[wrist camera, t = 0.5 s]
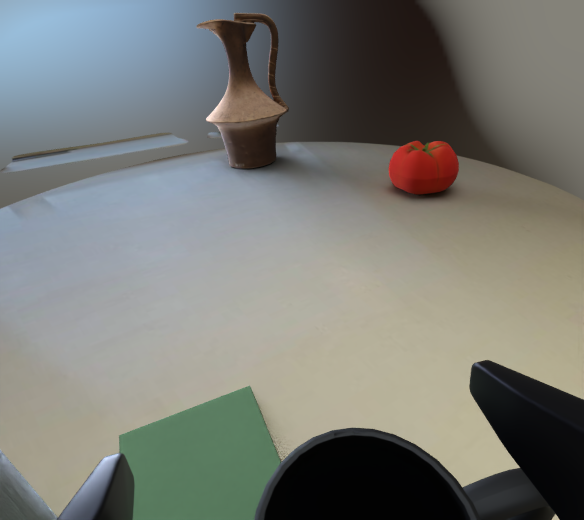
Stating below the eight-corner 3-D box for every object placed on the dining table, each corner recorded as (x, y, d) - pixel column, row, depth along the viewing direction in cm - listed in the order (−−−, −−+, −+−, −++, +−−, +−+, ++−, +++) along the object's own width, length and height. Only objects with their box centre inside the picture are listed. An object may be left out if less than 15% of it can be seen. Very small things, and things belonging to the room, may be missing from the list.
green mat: (300, 512, 22) (300, 508, 22) (124, 601, 19) (122, 598, 19) (250, 388, 30) (249, 385, 30) (120, 438, 27) (119, 435, 27)
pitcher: (286, 147, 92) (275, 11, 77) (298, 168, 77) (287, 6, 63) (215, 155, 90) (190, 18, 75) (213, 178, 76) (182, 14, 61)
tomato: (447, 177, 66) (454, 134, 62) (459, 202, 57) (467, 153, 53) (386, 178, 68) (389, 136, 65) (388, 201, 59) (391, 155, 55)
